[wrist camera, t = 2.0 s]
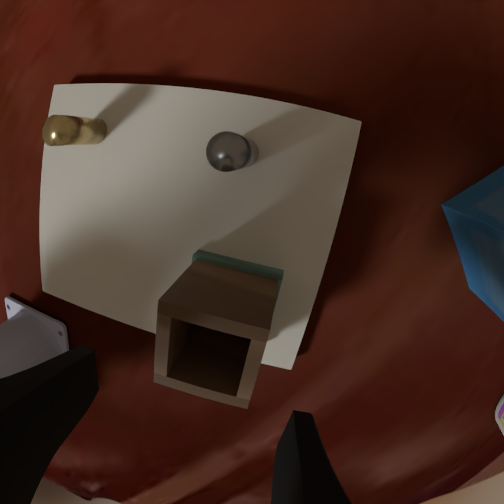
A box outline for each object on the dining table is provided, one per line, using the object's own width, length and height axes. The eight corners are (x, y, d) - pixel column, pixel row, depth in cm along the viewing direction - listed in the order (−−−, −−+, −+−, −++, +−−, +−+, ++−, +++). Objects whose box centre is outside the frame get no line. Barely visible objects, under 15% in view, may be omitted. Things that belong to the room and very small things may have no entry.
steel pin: (255, 170, 16) (242, 175, 12) (224, 164, 16) (202, 167, 12) (261, 140, 15) (250, 135, 11) (230, 134, 15) (210, 128, 12)
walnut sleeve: (264, 342, 19) (250, 412, 13) (187, 322, 19) (149, 383, 13) (283, 270, 17) (276, 326, 11) (198, 249, 17) (154, 294, 12)
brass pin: (104, 145, 16) (61, 147, 13) (84, 143, 16) (40, 145, 13) (109, 119, 16) (66, 114, 12) (88, 117, 16) (45, 114, 12)
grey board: (291, 358, 20) (290, 369, 19) (51, 285, 21) (42, 290, 20) (357, 123, 15) (361, 121, 14) (65, 86, 17) (54, 84, 16)
